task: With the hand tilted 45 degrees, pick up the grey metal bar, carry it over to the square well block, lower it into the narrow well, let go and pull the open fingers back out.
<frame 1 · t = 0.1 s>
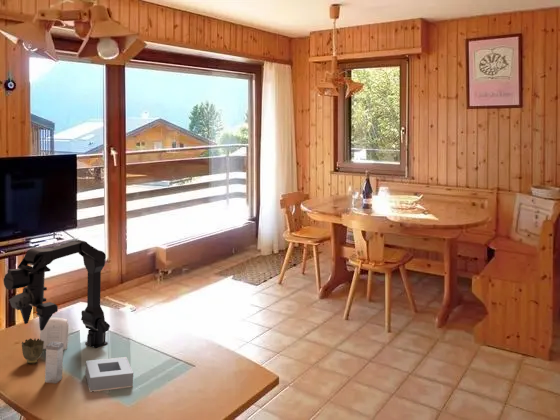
hand: (33, 326, 190), 15 cm above the table, tool pointing down, fingers open, 9 cm apart
brown ornate lampshade: (32, 363, 194), on the table
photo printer: (53, 348, 208), on the table
square well: (108, 380, 185), on the table
metal bar: (53, 380, 182), on the table
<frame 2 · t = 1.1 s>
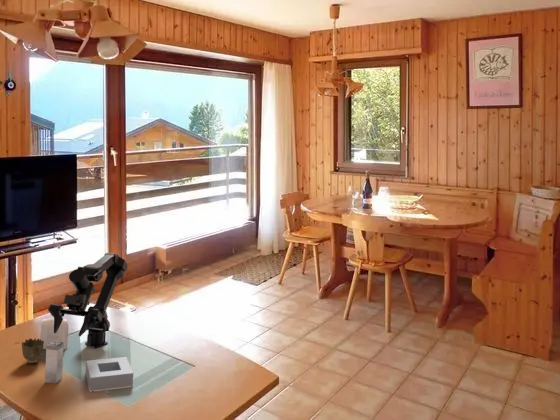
hand: (66, 334, 189), 13 cm above the table, tool tilted 45°, fingers open, 9 cm apart
nothing on the table moved.
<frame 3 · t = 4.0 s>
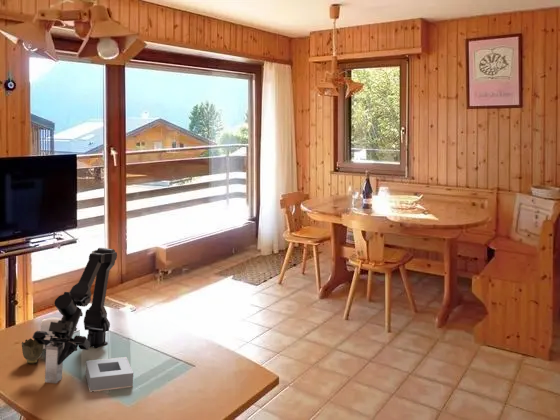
hand: (52, 363, 180), 7 cm above the table, tool tilted 45°, fingers closed on metal bar, 4 cm apart
metal bar: (53, 380, 182), on the table, touching gripper
everything else where it was.
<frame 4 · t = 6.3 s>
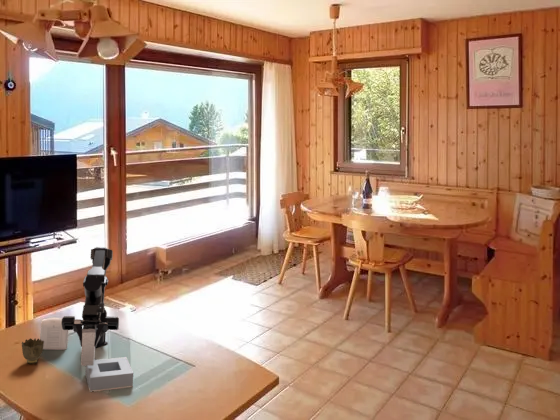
hand: (88, 346, 180), 13 cm above the table, tool tilted 45°, fingers closed on metal bar, 4 cm apart
metal bar: (87, 363, 182), point 7 cm above the table, touching gripper
everything else where it was.
when the fingers open (8 cm above the table, at t = 8.6 s): metal bar stays where it is, resting on square well.
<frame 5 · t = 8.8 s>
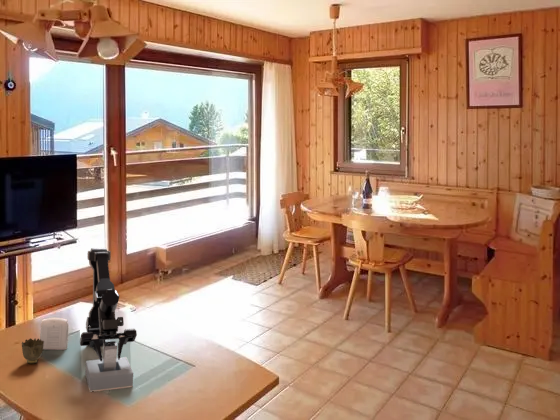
hand: (110, 360, 183), 8 cm above the table, tool tilted 45°, fingers open, 6 cm apart
metal bar: (108, 379, 185), resting on square well
everything else where it was.
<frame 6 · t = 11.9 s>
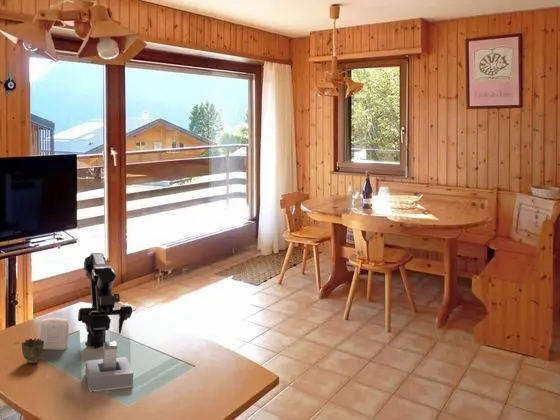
hand: (106, 334, 191), 14 cm above the table, tool tilted 45°, fingers open, 9 cm apart
nothing on the table moved.
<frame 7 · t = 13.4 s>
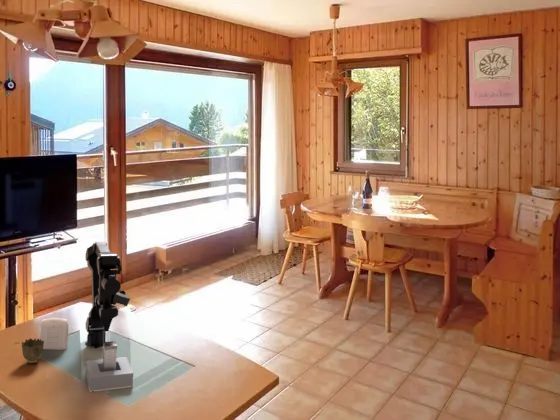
hand: (105, 326, 200), 13 cm above the table, tool pointing down, fingers open, 9 cm apart
nothing on the table moved.
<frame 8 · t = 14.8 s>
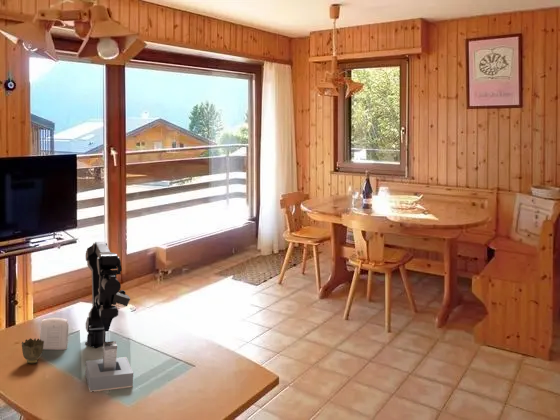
hand: (105, 327, 200), 13 cm above the table, tool pointing down, fingers open, 9 cm apart
nothing on the table moved.
at the end: metal bar 0.1 cm off-centre on the square well, point 0.4 cm above the square well's base; metal bar tilted 0°; the gripper is holding nothing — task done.
